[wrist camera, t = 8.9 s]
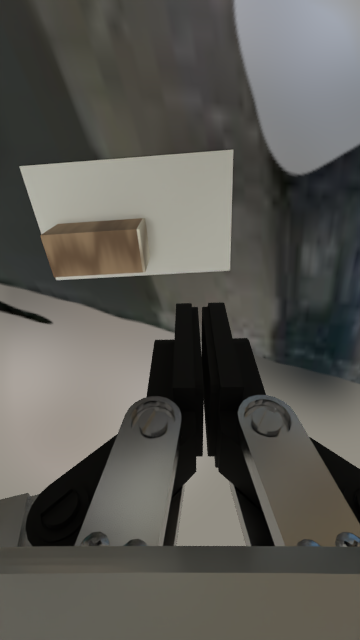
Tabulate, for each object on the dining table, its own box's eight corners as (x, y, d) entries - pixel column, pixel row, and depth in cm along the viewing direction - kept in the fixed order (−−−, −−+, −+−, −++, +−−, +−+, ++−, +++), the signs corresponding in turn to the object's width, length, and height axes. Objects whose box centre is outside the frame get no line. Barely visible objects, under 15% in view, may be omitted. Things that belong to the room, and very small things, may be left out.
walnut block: (145, 218, 35) (57, 223, 35) (139, 228, 31) (40, 235, 31) (150, 257, 37) (68, 262, 38) (145, 272, 33) (54, 277, 34)
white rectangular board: (21, 166, 32) (19, 166, 32) (232, 149, 31) (233, 149, 31) (57, 278, 40) (56, 280, 40) (229, 269, 39) (230, 270, 38)
